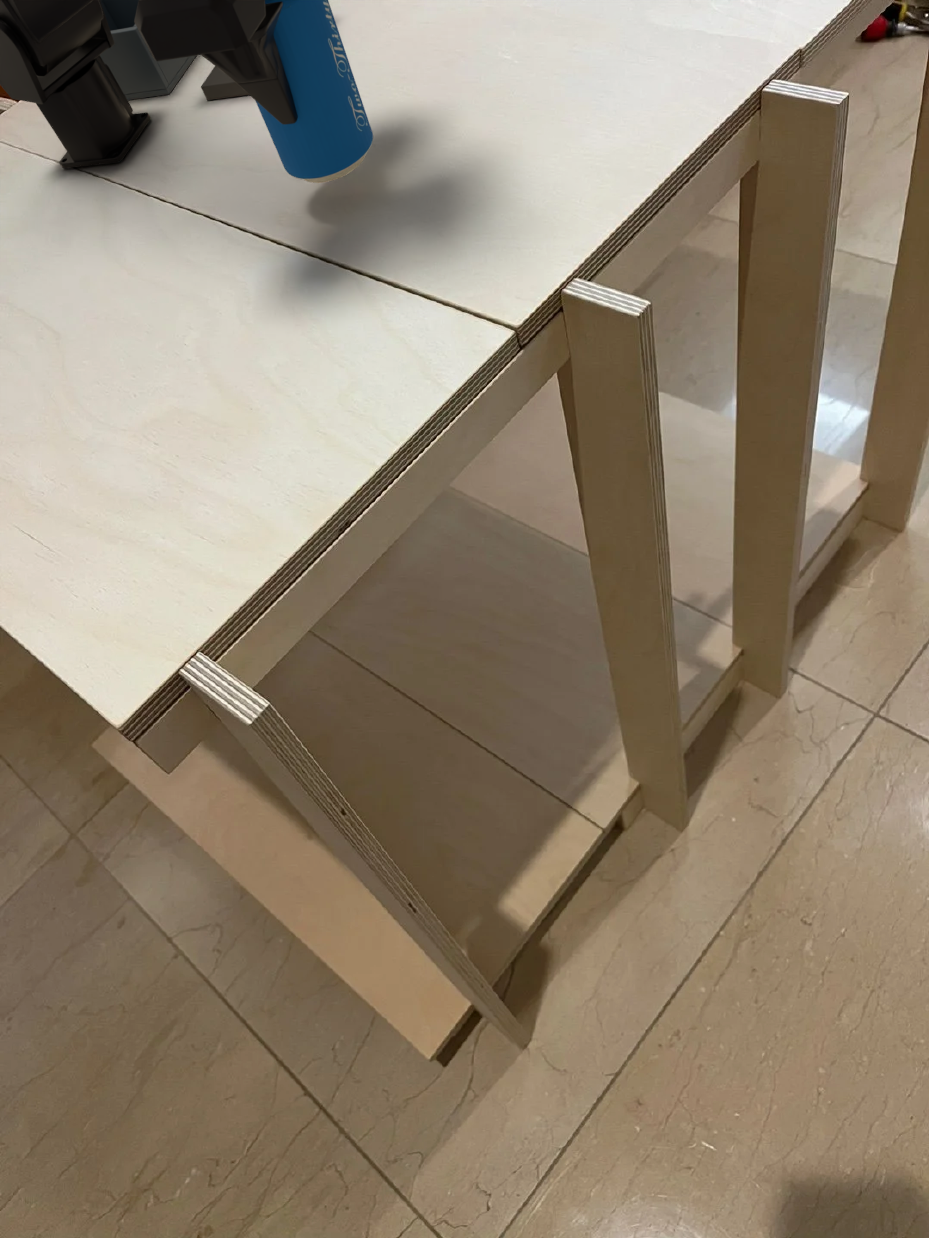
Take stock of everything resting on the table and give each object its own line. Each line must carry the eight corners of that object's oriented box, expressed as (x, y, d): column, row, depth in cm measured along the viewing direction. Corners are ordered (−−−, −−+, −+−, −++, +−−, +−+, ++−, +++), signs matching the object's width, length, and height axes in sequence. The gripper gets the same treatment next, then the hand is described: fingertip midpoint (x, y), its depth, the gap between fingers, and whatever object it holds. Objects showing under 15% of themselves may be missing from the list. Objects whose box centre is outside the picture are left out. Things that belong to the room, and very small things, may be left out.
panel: (287, 90, 75) (271, 53, 73) (207, 101, 78) (189, 65, 75) (326, 25, 80) (312, -13, 77) (249, 37, 82) (234, 1, 80)
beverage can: (363, 185, 60) (291, -14, 50) (276, 194, 62) (191, 5, 52) (386, 127, 63) (323, -70, 53) (303, 138, 65) (227, -51, 55)
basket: (169, 94, 80) (135, 29, 76) (79, 107, 84) (42, 45, 79) (213, 32, 85) (183, -33, 81) (126, 46, 89) (93, -15, 84)
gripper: (256, -168, 38) (377, 171, 51) (385, -328, 47) (461, -4, 60) (53, -117, 42) (213, 186, 55) (206, -274, 51) (314, 20, 64)
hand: (308, 91), depth 58 cm, fingers closed on beverage can, 6 cm apart
